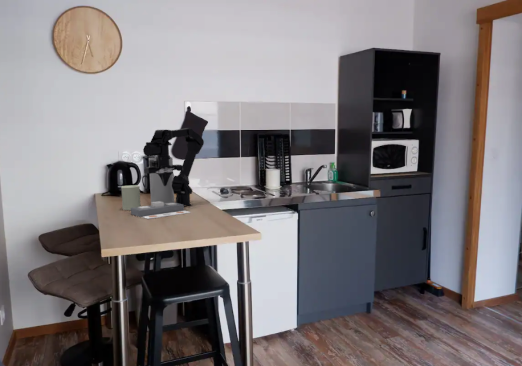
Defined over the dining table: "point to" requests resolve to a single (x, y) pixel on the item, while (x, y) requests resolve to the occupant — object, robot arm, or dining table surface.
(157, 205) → the button middle
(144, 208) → the button
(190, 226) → the dining table surface
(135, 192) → the can
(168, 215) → the pattern card
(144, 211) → the button board
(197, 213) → the dining table surface
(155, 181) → the cylinder vase
